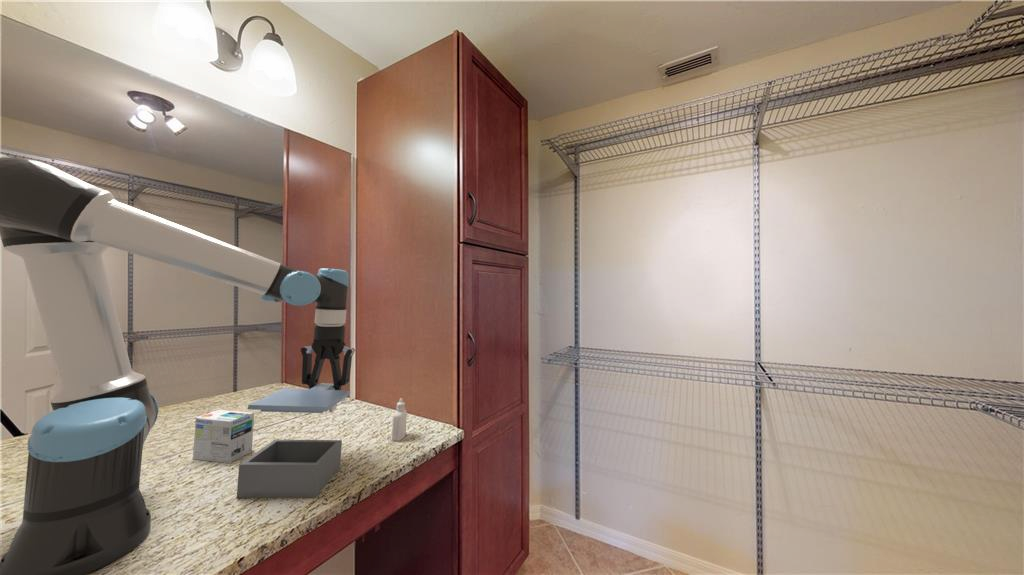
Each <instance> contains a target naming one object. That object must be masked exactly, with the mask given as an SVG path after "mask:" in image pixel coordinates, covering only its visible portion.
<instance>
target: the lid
mask: <svg viewBox="0 0 1024 575" xmlns="http://www.w3.org/2000/svg"><path fill="white" fill-rule="evenodd" d="M333 386H334V383H330V382H329V383H327V382H321V383H320V382H319V383H318V384H317V385H316V386H315V387H313V388H311V389H309V388H308V389H307V388H306V389H303V388H282V389H280V390H278V391H275V392H273V393H271V394H269V395H267V396H265V397H263V398H260V399H258V400H256V401H253V402H251V403H249V404H248V405H247V410H257V411H259V410H260V412H265V413H267V412H268V413H269V412H271V413H298V414H299V413H303V414H305V413H307V414H310V413H311V414H323V413H324V412H325V413H326V412H329V409H331V408H332V407H333V406H335V405H336V404H337V405H338V404H339V403H340V402H342V401H343V400H345V399H346V398H347V397H348V396H350V394H351V390H342V389H341V390H331V388H332V387H333Z"/></svg>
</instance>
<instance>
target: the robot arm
mask: <svg viewBox="0 0 1024 575" xmlns="http://www.w3.org/2000/svg"><path fill="white" fill-rule="evenodd" d="M0 240H1V243H2V246H3V249H4V250H5V251H7V252H10V253H12V254H14V255H16V256H18V257H20V258H21V259H22V260H23V263H24V265H25V268H26V272H27V276H28V279H29V282H30V286H31V289H32V293H33V296H34V299H35V303H36V306H37V309H38V310H37V311H38V313H39V316H40V320H41V324H42V326H43V330H44V333H45V337H46V340H47V344H48V346H49V350H50V354H51V357H52V361H53V363H54V367H55V371H56V374H57V377H58V381H59V383H60V384H59V385H60V389H59V390H58V392H56V394H54V395H53V396H52V397H51V398H50V400H49V401H50V405H51V408H52V411H50V412H48V413H46V414H45V415H43V416H41V417H39V419H38V420H37V421H36V422H35V423H34V424H33V426H32V428H31V433H30V436H29V437H28V440H27V451H28V452H27V453H28V454H27V456H28V457H27V464H26V465H27V466H26V479H25V489H24V500H23V511H22V512H23V513H22V522H21V524H19V525H20V526H19V527H18V529H17V531H16V533H15V535H14V537H13V539H12V541H11V543H10V545H9V548H8V551H7V552H6V553H5V554H4V555H3V556H2V557H1V559H0V575H88V574H90V573H92V572H95V571H96V569H97V570H99V569H100V568H101V569H102V568H103V567H105V566H107V565H109V564H111V563H113V562H114V561H116V560H118V559H120V558H121V557H123V556H125V555H126V554H128V553H130V551H132V550H134V549H135V548H136V547H137V546H138V545H140V543H142V542H143V541H144V540H145V539H146V537H147V536H148V534H149V533H150V530H151V524H152V521H151V520H152V516H151V512H150V510H149V508H147V506H146V502H145V500H144V499H145V498H144V497H143V495H142V492H141V490H140V481H141V473H142V472H141V471H142V460H143V459H142V458H143V449H144V445H145V442H146V440H147V438H148V436H149V434H150V431H151V429H152V428H153V427H154V425H155V423H156V421H157V419H158V415H159V404H158V401H157V398H155V396H154V395H153V394H152V393H151V392H150V389H149V385H148V382H147V378H146V375H144V374H142V373H139V372H135V371H134V370H133V368H132V365H131V362H130V358H129V354H128V351H127V346H126V343H125V338H124V336H123V332H122V328H121V323H120V321H119V317H118V312H117V309H116V305H115V302H114V298H113V295H112V293H113V292H112V290H111V286H110V282H109V279H108V276H107V272H106V268H105V264H104V260H103V256H102V254H103V253H104V251H107V249H109V248H110V247H111V248H113V249H116V250H120V251H123V252H126V253H130V254H133V255H137V256H139V257H143V258H145V259H148V260H149V259H150V260H152V261H155V262H158V263H161V264H164V265H168V266H171V267H174V268H176V269H179V270H180V269H181V270H183V271H186V272H190V273H193V274H196V275H199V276H202V277H206V278H209V279H213V280H215V281H219V282H222V283H225V284H228V285H230V286H234V287H237V288H239V289H240V288H241V289H244V290H246V291H251V292H254V293H257V294H259V295H260V298H261V300H262V301H264V302H272V303H288V304H289V305H291V306H296V307H302V306H306V305H307V306H308V305H310V304H311V303H312V304H313V303H315V314H314V324H316V325H315V326H314V328H313V337H312V338H313V341H312V342H311V345H309V346H308V345H307V346H304V347H301V348H300V353H301V356H302V364H301V365H302V367H301V384H302V385H307V386H308V389H311V388H313V387H315V386H316V385H318V384H320V381H319V380H320V376H321V374H322V373H321V372H322V369H323V365H324V362H325V361H326V359H327V360H329V364H330V366H331V367H330V368H331V374H332V381H333V383H332V384H334V386H333V387H332V388H331V390H342V386H345V385H347V384H348V383H349V382H350V379H351V378H350V377H351V368H352V358H353V356H354V354H355V348H354V347H352V348H351V347H348V346H346V343H345V337H346V336H345V335H346V326H345V324H346V320H347V306H348V305H347V304H348V296H349V295H348V294H349V285H350V284H349V281H350V280H349V277H350V276H349V272H348V271H347V270H344V269H338V268H325V267H324V268H323V267H322V268H319V269H318V272H317V274H312V273H310V272H309V271H305V270H298V269H296V268H294V267H290V266H288V265H286V264H282V263H281V262H277V261H275V260H272V259H270V258H267V257H264V256H262V255H260V254H256V253H255V252H251V251H250V250H249V251H248V250H246V249H243V248H241V247H238V246H236V245H233V244H230V243H228V242H226V241H222V240H219V239H218V238H215V237H212V236H210V235H207V234H204V233H201V232H198V231H196V230H194V229H191V228H188V227H186V226H183V225H180V224H178V223H175V222H172V221H170V220H167V219H165V218H163V217H160V216H157V215H154V214H151V213H149V212H146V211H143V210H141V209H139V208H136V207H133V206H131V205H128V204H126V203H122V202H119V201H118V200H117V199H116V198H115V197H114V195H113V193H112V192H111V191H109V190H106V189H103V188H100V187H99V186H96V185H93V184H90V183H88V182H86V181H84V180H82V179H80V178H77V177H75V176H73V175H71V174H69V173H67V172H65V171H63V170H62V169H59V168H58V167H56V166H53V165H51V164H48V163H45V162H43V161H39V160H35V159H30V158H25V157H24V158H23V157H13V156H7V157H6V156H3V157H1V156H0ZM313 352H314V354H315V355H316V356H315V358H314V365H313V366H312V363H313ZM342 352H343V355H344V357H343V362H342V371H341V364H340V363H341V362H340V360H341V357H340V355H341V354H342ZM337 405H338V404H336V405H335V406H333V407H332V408H331V409H329V410H328V413H334V411H335V410H336V409H337Z"/></svg>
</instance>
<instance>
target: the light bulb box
mask: <svg viewBox="0 0 1024 575" xmlns="http://www.w3.org/2000/svg"><path fill="white" fill-rule="evenodd" d="M254 423H255V412H251V411H237V410H227V409H217V410H215V411H211V412H209V413H206V414H201V415H199V416H196V417H195V425H194V440H193V453H192V460H198V461H208V462H215V463H223V464H231V463H232V462H234V461H236V460H238V459H241V458H242V457H244V456H246V455H248V454H250V453H252V451H253V440H254V439H253V437H254Z"/></svg>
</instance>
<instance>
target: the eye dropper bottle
mask: <svg viewBox="0 0 1024 575" xmlns="http://www.w3.org/2000/svg"><path fill="white" fill-rule="evenodd" d="M405 405H406V402H404V400H403V398H399V401H398V402H397V403H396V408H395V409H396V410H395V412H394V413H393V416H392V427H391V428H392V429H391V440H392V441H393V442H400V441H401V440H403V439H404V438H405V436H406V431H407V420H408V419H407V418H408V417H407V416H408V415H407V414H408V412H407V410H406V408H405V407H406V406H405Z"/></svg>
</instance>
